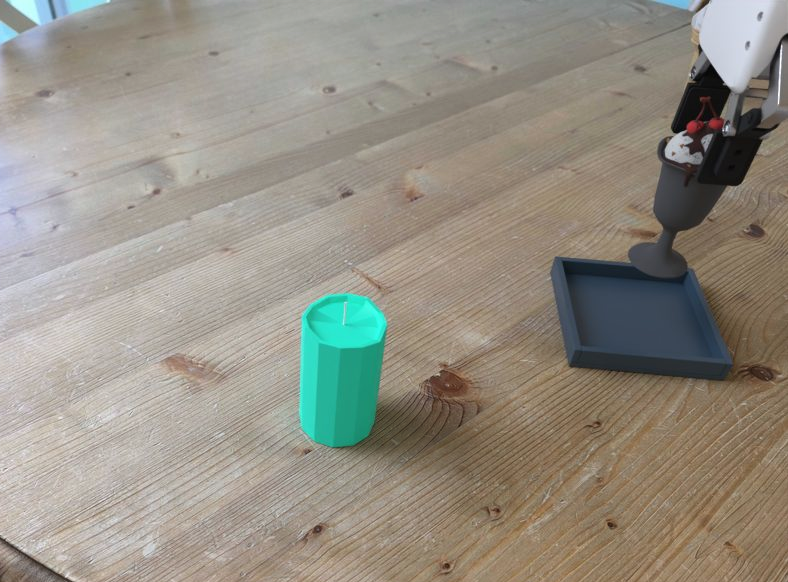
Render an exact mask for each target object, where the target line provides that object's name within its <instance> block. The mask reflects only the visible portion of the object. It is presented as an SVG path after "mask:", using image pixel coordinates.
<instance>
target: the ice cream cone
mask: <svg viewBox="0 0 788 582" xmlns="http://www.w3.org/2000/svg"><path fill="white" fill-rule="evenodd" d="M708 4H709V3H707V4H706V5H705V6H704V7H702V8H701V9H700V10H698V11H697V12H696V13H695V14H693V16H692V18H691V23H690V27H691V38H690V41H691V42H692V44H693V47H694V53H693V57H692V60H691V63H690V66H689V70H688V74H687V77H686V80H685V84H684V87H683V92H682V95H681V97H682V96H683V94H684V91H685V89H686V86H687V83H688V82H691V83H695V81H690V79H689V75H690V70H691V68H692V66H693V65H694V63H695V62H696V60H697V58H698V55H699V50H698V45H699V44H700V42H699V33H700V29H701V25H702V22H703V19H704V16H705V13H706V10H707V7H708Z"/></svg>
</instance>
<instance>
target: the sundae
mask: <svg viewBox="0 0 788 582" xmlns="http://www.w3.org/2000/svg"><path fill="white" fill-rule="evenodd" d="M710 99H711V97H701V98H700V101H701V102H703V109H702V111H701V113H700V114H699V116H698V117H697V119H696V120H694V121H691V122H690V123H689V124H688V125H687V130H685V131H683V132H680V133H678V134H676V135H675V134H674V135H669V136H665V137H664V138H662V139H661V140H660V141H659V142H658V145H657V150H656V154H657V159H658V160H659V161H660V162H661V167H660V174H659V178H658V182H657V185H656V189H655V194H654V200H653V207H652V212H653V214H654V216H655V218H656V220H657V222H658V223H659V224H660V225H661V227H662V230H661V233H660V235H659V238H658V239H657V241H656V242H653V241H651V242H649V241H648V242H647V241H646V242H643V241H642V242H639V243H636V244H634V245H632V246H631V247H630V248H629V249H628V250H627V258H628V260H629V263H632V265H633V266H634V267H636V268H637V269H638V270H639V271H641V272H643V273H645V274H648V275H650V276H653V277H657V278H664V279H671V278H676V277H679V276H682V275H683V274H685V273H686V271H687V268H689V267H688V266H689V265H688V262H687V260H686V258H685V256H684V255H683V254H681V253H680V252H679V251H677V250H676V249H675V248H673V245H674V241H675V239H676V237H677V235H678V233H679V232H686V231H689V230H691V229H694V228H696V227H698V226H700V225H701V224H702V223H703V221H704V220H705V219H706V218H707V217H708V215H709V214H710V213H711V212H712V210H713V209H714V207H715V206H716V204H717V202H718V201H719V200H720V198H721V197H722V195H723V194H724V192H725V190H726V189H727V188H728V186H724V185H712V184H701V183H698V182H697V180H696V178H695V175H696V173H697V170H698V168H699V166H700V164H701V161H702V159H703V157H704V154H705V152H706V150H707V147H708V145H709V143H710V141H711V138H712V136H713V134H714V131H715V129H722V128H723V124H724V119H725V118H723V117H721V116H720V117H717V115H716V113H715V111H714V109H713V107H712V105H711V103H710ZM707 101H708V102H709V105H710V108H711V110H712V112H713V114H714V116H715V118H713V119H711V120H710V121H707V122H704V123H703V122H702V121H698V120H699V119H700V117H701V116H702V114H703V112H704V109H705V102H707Z"/></svg>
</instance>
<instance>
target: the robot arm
mask: <svg viewBox="0 0 788 582" xmlns="http://www.w3.org/2000/svg"><path fill="white" fill-rule="evenodd" d="M707 4H708V7H707V10H706V13H705V16H704V19H703V22H702V25H701V29H700V33H699V42H700V44H699V45H698V50H699V55H698V58H697V60H696V62H695V63H694V65H693V66H692V68H691V70H690V69H689V70H690V75H689V79H690V81H695V83H691V82H688V83H687V86H686V89H685V91H684V90H683V91H684V94H683V93H682V94H683V96H682V95H681V99H680V101H679V104H678V107H677V109H676V112H675V114H674V116H673V119H672V122H671V125H670V130H671V132H672V133H673V134H674V135H675V134H676V135H677V134H678V133H680V132H683V131H685V130H687V125H688V124H689V123H690V122H691V121H694V120H696V119H697V117H698V116H699V114H700V113H701V111H702V109H703V102H701V101H700V98H701V97H711V99H710V103H711V105H712V107H713V109H714V111H715V113H716V115H717V117H721V116H722V113H723V111H724V109H725V107H726V104H727V107H726V110H725V116H724V118H723V119H724V124H723V128H722V129H715V131H714V134H713V136H712V138H711V141H710V143H709V145H708V147H707V150H706V152H705V154H704V157H703V159H702V161H701V164H700V166H699V168H698V170H697V173H696V175H695V178H696V180H697V182H698V183H701V184H712V185H724V186H727V187H739V186H741V185H742V184H743V182H744V180H745V178H746V176H747V174H748V172H749V170H750V168H751V165H752V163H753V162H754V160H755V158H756V155H757V154H758V151H759V149H760V147H761V145H762V143H763V142H764V141H765V140H767V139H768V138H770V136H771V134H772V131H775V130H776V129H777V128H779V126H780V124H782V123H783V122H785V121H786V120H788V0H709V2H708V3H707ZM751 80H758V81H759V80H760V81H768V86H767V88H763V87H762V88H761V87H750V85H749V84H750V83H751ZM746 99H758V100H762V101H761V105H760V107H753V108H750V109H749V110H748V111H746V112H744V113H743V110H744V105H745V101H746ZM727 102H728V103H727ZM742 113H743V114H742ZM713 118H715V116H714V114H713V112H712V110H711V108H710V105H709V102H708V101H707V102H705V109H704V112H703V114H702V116H701V117H700V119H699V120H698V121H702V122H703V123H704V122H707V121H710V120H711V119H713Z"/></svg>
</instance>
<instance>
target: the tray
mask: <svg viewBox="0 0 788 582" xmlns="http://www.w3.org/2000/svg"><path fill="white" fill-rule="evenodd" d="M549 273H550V279H551V283H552V288H553V293H554V294H553V295H554V298H555V303H556V310H557V313H558V318H559V323H560V328H561V334H562V339H563V344H564V348H565V353H566V358H567V359H566V360H567V364H568V367H573V368H574V367H575V368H584V369H585V368H586V369H596V370H604V371H605V370H606V371H616V372H617V371H618V372H627V373H637V374H638V373H639V374H649V375H661V376H669V377H670V376H672V377H681V378H691V379H702V380H703V379H704V380H713V381H725V380H726V379H727V377H728V375H729V374H730V372H731V370H732V369H733V367H734V361H733V359H732V356H731V353H730V352H729V349H728V346H727V345H726V343H725V340H724V338H723V335H722V333H721V330H720V328H719V326H718V324H717V322H716V319H715V317H714V315H713V312H712V310H711V307H710V305H709V301H708V300H707V298H706V295H705V293H704V291H703V288H702V286H701V284H700V281H699V279H698V277H697V274H696V271H695V270H694V268H693V267H688V268H687V271H686V273H685V274H683V275H682V276H679V277H676V278H671V279H664V278H657V277H653V276H650V275H648V274H645V273H643V272H641V271H639V270H638V269H637V268H636V267H634V266H633V265H632V263H631V262H625V261H615V260H614V261H613V260H603V259H602V260H601V259H591V258H581V257H580V258H579V257H567V256H554V259H553V262H552V266H551V269H550V272H549Z"/></svg>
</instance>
